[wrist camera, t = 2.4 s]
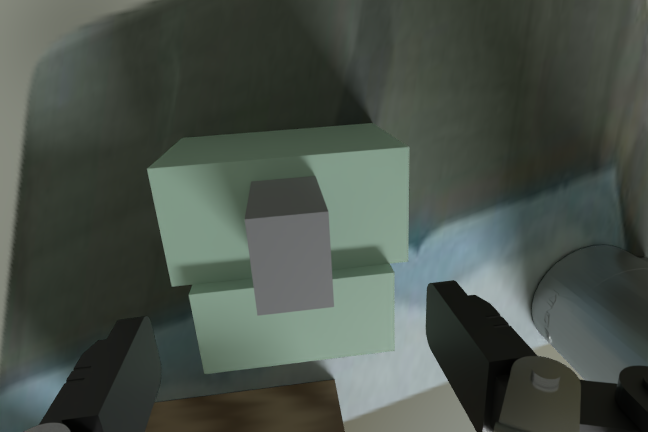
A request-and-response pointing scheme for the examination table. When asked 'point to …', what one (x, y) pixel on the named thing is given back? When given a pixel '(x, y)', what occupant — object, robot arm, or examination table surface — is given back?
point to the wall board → (253, 411)
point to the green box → (285, 241)
